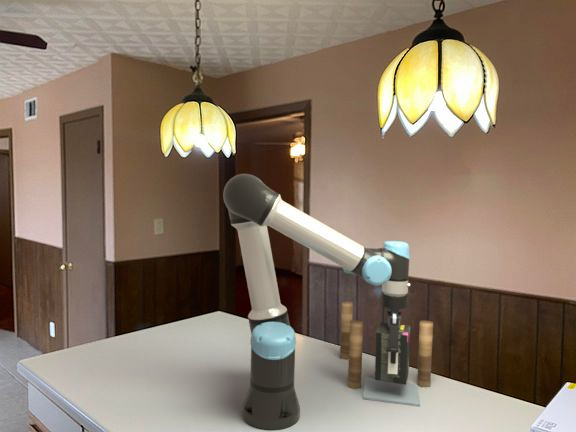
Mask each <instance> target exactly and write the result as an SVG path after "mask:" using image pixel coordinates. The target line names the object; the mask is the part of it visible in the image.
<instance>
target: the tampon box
mask: <svg viewBox="0 0 576 432" xmlns="http://www.w3.org/2000/svg"><path fill="white" fill-rule="evenodd" d="M379 323H380V324H379V325H378V327H377V329H376V332H375V358H374V359H375V361H374V363H375V364H374V365H375V366H374V368H375V369H374V379H375V380H380V381H385V382H392V383H398V384H404V385H407V383H408V379H409V378H408V377H409V369H410V340H411V339H410V338H411V335H410V334H411V325H408V324H400V329H399V334H398V350H399V351H398V372H397V374H389V373H388V352H386V349H389V336H390V329H389V328H388V322H383V321H380V322H379ZM391 348H396V347H391Z"/></svg>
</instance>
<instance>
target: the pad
mask: <svg viewBox="0 0 576 432" xmlns="http://www.w3.org/2000/svg"><path fill="white" fill-rule="evenodd" d="M362 399H363V400H367V401H374V402H382V403H389V404H397V405H405V406H413V407H419V406H420V407H421V403H420V401H421V400H420V393H419V386H418V385H417V382H416V383H414V382H407V385H404V384H398V383H392V382H385V381H380V380H375V377H374V378H372V377H365V378H364V383H363V392H362Z"/></svg>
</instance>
